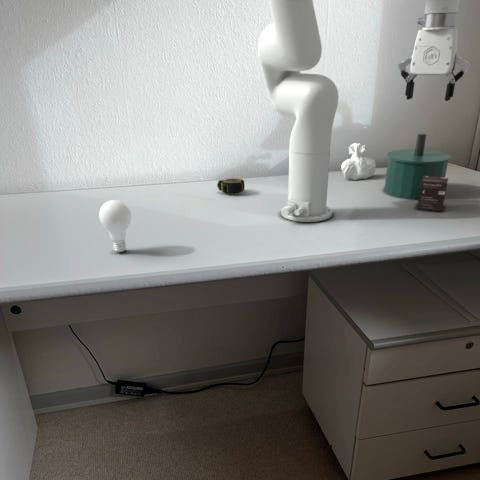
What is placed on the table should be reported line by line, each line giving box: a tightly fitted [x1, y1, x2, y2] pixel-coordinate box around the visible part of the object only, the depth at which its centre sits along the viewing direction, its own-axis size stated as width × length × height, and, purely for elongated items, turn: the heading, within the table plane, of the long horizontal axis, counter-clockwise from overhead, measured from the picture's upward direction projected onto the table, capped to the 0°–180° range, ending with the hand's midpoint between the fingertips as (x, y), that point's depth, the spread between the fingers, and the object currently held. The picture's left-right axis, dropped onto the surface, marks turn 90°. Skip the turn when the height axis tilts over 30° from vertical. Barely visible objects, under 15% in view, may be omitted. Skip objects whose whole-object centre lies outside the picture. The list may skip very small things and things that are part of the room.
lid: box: [386, 132, 452, 164], centre depth 135 cm, size 17×17×7 cm
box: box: [416, 176, 449, 212], centre depth 126 cm, size 6×6×7 cm
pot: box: [384, 158, 449, 200], centre depth 139 cm, size 16×16×10 cm
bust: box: [340, 142, 377, 181], centre depth 154 cm, size 12×8×11 cm
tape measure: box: [216, 178, 245, 196], centre depth 142 cm, size 7×7×4 cm
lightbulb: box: [98, 199, 132, 254], centre depth 102 cm, size 6×6×11 cm
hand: (428, 99), depth 128 cm, fingers open, 9 cm apart
